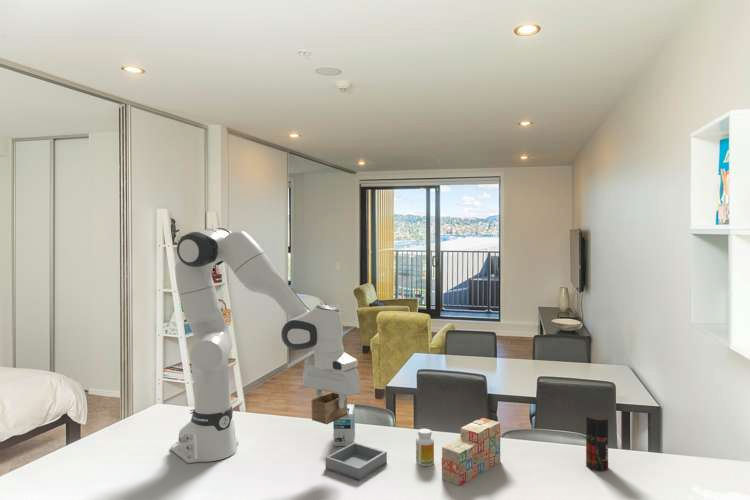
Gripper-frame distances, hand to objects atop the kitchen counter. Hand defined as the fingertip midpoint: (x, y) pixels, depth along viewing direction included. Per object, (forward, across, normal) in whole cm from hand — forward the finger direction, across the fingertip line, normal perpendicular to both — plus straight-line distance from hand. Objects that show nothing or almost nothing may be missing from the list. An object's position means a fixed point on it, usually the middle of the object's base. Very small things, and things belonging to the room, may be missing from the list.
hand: (331, 405), depth 147 cm
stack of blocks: (+20, +35, +22) cm, 46 cm away
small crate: (+4, 0, -1) cm, 4 cm away
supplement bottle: (+19, +21, +18) cm, 34 cm away
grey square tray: (+18, +6, +4) cm, 20 cm away
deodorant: (+21, +64, +46) cm, 81 cm away
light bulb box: (+19, -10, +17) cm, 27 cm away
